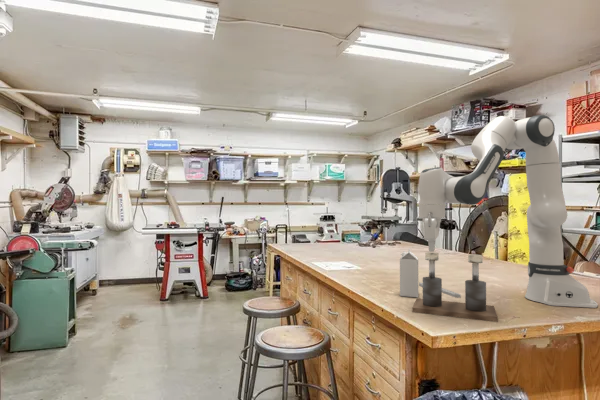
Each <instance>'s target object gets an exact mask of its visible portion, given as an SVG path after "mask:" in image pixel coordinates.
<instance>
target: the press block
mask: <svg viewBox="0 0 600 400" xmlns="http://www.w3.org/2000/svg"><path fill="white" fill-rule="evenodd" d="M442 281H443V279H442V278H441V277H437V276H435V278H429V276H423V277H422V283H423V287H422V298H419V297H416V299H415V301H414V304H413V305H412V309H411V310H412V313H419V314H425V315H436V316H446V317H453V318H454V317H455V318H461V319H462V318H463V319H471V320H479V321H486V322H495V323H496V322H499V320H498V319H499V318H498V314H497V311H496V309H495V305H489V304H487V282H485V281H483V280H479V281H478V282H476V281H472V279H467V280H465V281H464V285H465V286H464V289H465V290H464V291H465V293H464V296H465V301H464V302H458V301H448V300H443V293H442V288H443V287H442V286H443V284H442Z"/></svg>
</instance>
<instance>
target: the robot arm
mask: <svg viewBox="0 0 600 400" xmlns="http://www.w3.org/2000/svg"><path fill="white" fill-rule="evenodd" d="M555 131H556V129H555V123H554V122H553V120H552V119H551V118H550V117H549V116H547V115H544V114H539V115H538V114H537V115H532V116H531V117H525V118H521V119H518V120H517V121H515V120H514V119H513V118H511V117H508V116H505V115H500V116H497V117H495V118H493V119H492V120H491V121H489V122H488V123H487V124H486V125H485V126H484V127H483V128H482V129H481V130H480V132H479V133H478V134H477V135H476V136H475V137H474V139H473V141H472V143H471V146H470V149H471V153H472V155H473V156H474V157H475V158H476V159H477V160H478V161H479V162H478V163H477V166H476V167H475V168H474V170H473V172H471V173H469V174H466V175H462V176H453V175H451V174H449V173H447V172H446V171H445V170H444V169H443V167H441V166H440V167H439V166H438V167H431V168H425V169H423V170H422V171H421V172H420V175H419V179H418V195H419V202H418V217H419V218H422V223H424V224H423V240H424V241H427V243H428V252H435V251H436V250H435V249H436V247H435V246H436V245H435V244H436V240H437V238H438V237H439V235H440V233H439V232H440V227H441V223H442V219H444V218H446V206H445V205H446V204H456V205H457V204H458V205H459V204H460V205H461V204H464V205H469V206H470V205H471V206H474V205H478V204H479V203H480V202H481V201H482V200H483V199H484V198H485V196H486V193H487V190H488V187H489V183H490V182H491V180H492V179H493V176H494V175H495V174H496V172H497V170H498V169H499V167H500V165H501V163H502V161H503V159H504V156H505V155H504V154H505V152H504V151H508V152H509V151H514V150H522V149H523V150H524V152H525V174H526V186H527V191H528V196H529V202H530V205H529V206H528V207H527V209H526V222H527V223H526V224H527V234H528V245H529V248H528V249H529V258H528V259H529V261H528V264H527V275H528V283H527V288H526V289H527V290H526V293H525V295H524V297H525V299H528V300H531V301H533V302H537V303H542V304H545V305H548V306H557V307H573V308H574V307H576V308H589V309H590V308H594V309H595V308H598V305H599V304H598V302H596V301H595V300H594V299H591V298H590V293H589V290H588V288H587V287H586V286H585V285H584V284H583V283H582V282H581V281H579V280H577V279H576V278H575V277H573V276H572V275H571V274H572V273H574V272H575V269H574V268H573V267H571V266H567V265H566V264H564V242H563V236H562V233H561V232H562V231H561V226H562V225H564V224H565V222H566V221H567V219H568V211H567V207H566V201H565V195H564V192H563V191H564V190H563V188H562V187H563V186H562V181H561V180H562V179H561V169H560V167H561V166H560V165H561V164H560V157H559V152H558V147H557V144H556V142H555V140H554V136H555Z"/></svg>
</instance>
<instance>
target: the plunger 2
mask: <svg viewBox="0 0 600 400" xmlns="http://www.w3.org/2000/svg"><path fill="white" fill-rule="evenodd" d="M483 257H484V256H483V255H482V254H477V253H476V254H474V253H473V254H468V255H467V259H468V261H467V262H468V263H470V264H471V268H472V269H471V271H472V272H471V274H472V277H471V280H472V281H476V282H478V281H480V278H479V277H480V276H479V275H480V274H479V273H480V272H479V271H480V270H479V269H480V267H479V266H480V264H483V261H484V260H483Z"/></svg>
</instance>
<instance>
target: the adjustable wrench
mask: <svg viewBox="0 0 600 400" xmlns="http://www.w3.org/2000/svg"><path fill="white" fill-rule="evenodd" d="M419 286H420V287H421V288H423V282H419V281H418V287H419ZM442 294H445V295H447V296H451V297H454V298H457V299H458V298H461V297H462V295H461V294H460V293H458V292H454V291H452V290H449V289H446V288H443V287H442Z"/></svg>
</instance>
